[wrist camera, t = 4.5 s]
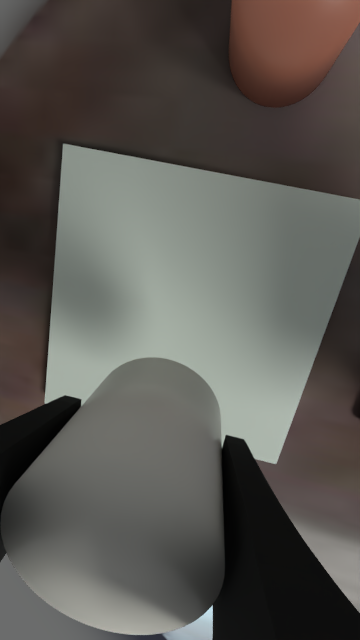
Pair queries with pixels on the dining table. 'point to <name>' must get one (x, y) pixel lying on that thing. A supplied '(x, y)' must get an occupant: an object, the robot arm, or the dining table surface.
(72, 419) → the off-white rounded cylinder
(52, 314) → the baseplate
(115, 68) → the dining table surface
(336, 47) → the pink rounded piece
